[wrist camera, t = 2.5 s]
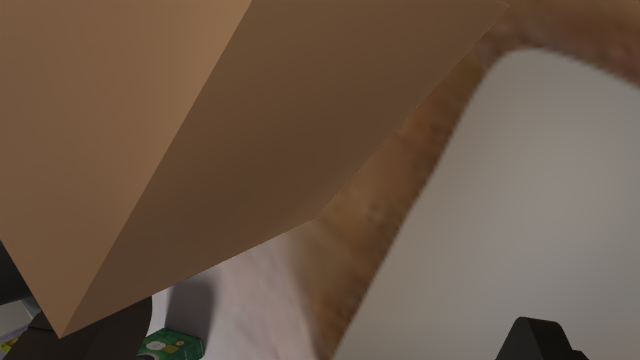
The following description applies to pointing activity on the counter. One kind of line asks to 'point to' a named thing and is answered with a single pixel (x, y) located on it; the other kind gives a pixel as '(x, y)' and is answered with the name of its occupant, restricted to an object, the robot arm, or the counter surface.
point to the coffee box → (170, 347)
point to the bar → (195, 128)
